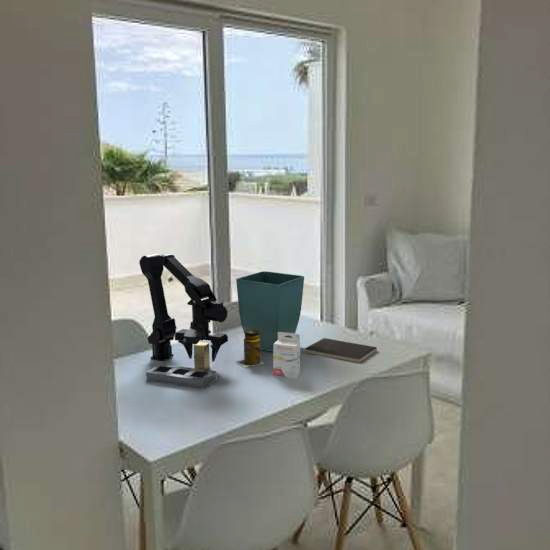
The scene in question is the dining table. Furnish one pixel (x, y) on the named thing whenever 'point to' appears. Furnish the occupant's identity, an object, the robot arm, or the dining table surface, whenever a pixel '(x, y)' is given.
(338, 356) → the hardcover book
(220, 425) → the dining table surface
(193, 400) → the dining table surface
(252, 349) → the condiment
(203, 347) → the brass peg
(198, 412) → the dining table surface
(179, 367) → the gray socket block
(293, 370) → the ink cartridge box
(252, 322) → the flower pot
